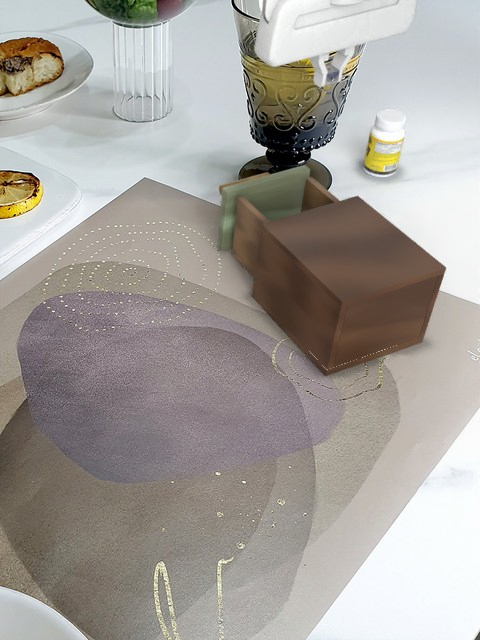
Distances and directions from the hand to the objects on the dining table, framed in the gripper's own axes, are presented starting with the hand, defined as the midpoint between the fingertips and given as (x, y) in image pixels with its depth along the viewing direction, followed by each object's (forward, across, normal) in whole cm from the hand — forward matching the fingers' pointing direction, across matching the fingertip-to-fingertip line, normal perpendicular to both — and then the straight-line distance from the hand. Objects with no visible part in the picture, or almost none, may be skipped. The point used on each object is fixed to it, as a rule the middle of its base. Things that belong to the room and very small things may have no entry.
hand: (326, 83), depth 106 cm
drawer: (+17, -11, -9) cm, 22 cm away
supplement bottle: (+18, +14, +3) cm, 23 cm away
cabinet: (+18, -11, -21) cm, 30 cm away
